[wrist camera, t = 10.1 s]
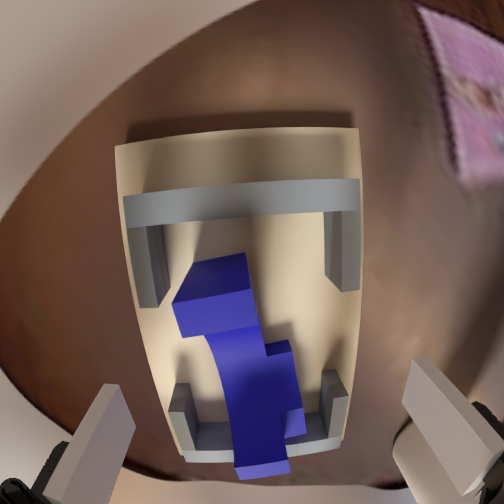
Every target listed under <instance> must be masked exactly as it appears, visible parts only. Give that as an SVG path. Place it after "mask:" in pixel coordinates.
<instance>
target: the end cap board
mask: <svg viewBox="0 0 504 504" xmlns="http://www.w3.org/2000/svg"><path fill="white" fill-rule="evenodd" d="M115 161H116V177H117V189H118V200H119V210H120V219H121V227H122V234H123V242H124V248H125V255H126V261H127V267H128V273H129V278H130V284H131V289H132V294H133V299H134V304H135V308H136V313H137V317H138V322H139V326H140V330H141V334H142V338H143V342H144V346H145V350H146V354H147V358H148V361H149V365H150V368H151V372H152V375H153V379H154V382H155V385H156V388H157V392H158V395H159V398H160V401H161V404H162V407H163V410H164V413H165V416H166V419H167V421H168V424H169V427H170V430H171V432H172V435H173V438H174V440H175V443H176V446H177V448H178V451H179V453H180V455H184V458H185V460H186V462H234V452H233V442H232V434H231V427H230V421H229V415H228V410H227V405H226V400H225V396H224V391H223V387H222V383H221V380H220V376H219V373H218V369H217V366H216V363H215V360H214V357H213V354H212V352H211V349H210V347H209V345H208V343H207V340H206V339H205V337H204V335H201V336H195V337H188V338H182V336H181V333H180V330H179V327H178V324H177V321H176V318H175V314H174V311H173V308H172V305H171V303H172V301H173V299H174V297H175V296H176V294H177V292H178V290H179V288H180V286H181V284H182V282H183V280H184V278H185V277H186V275H187V273H188V271H189V269H190V267H191V265H192V263H193V262H198V261H203V260H208V259H213V258H218V257H223V256H228V255H233V254H238V253H243V252H245V253H246V257H247V262H248V267H249V272H250V277H251V282H252V286H253V291H254V296H255V301H256V306H257V310H258V315H259V320H260V325H261V330H262V334H263V339H264V344H267V343H272V342H277V341H282V340H286V339H288V340H289V343H290V346H291V349H292V353H293V359H294V365H295V370H296V375H297V381H298V386H299V391H300V395H301V400H302V405H303V410H304V417H305V425H306V432H307V434H302V435H298V436H293V437H288V438H284V440H285V445H286V450H287V456H288V457H292V456H298V455H305V454H311V453H316V452H322V451H327V450H332V449H336V448H340V443H341V440H343V437H344V432H345V427H346V422H347V416H348V411H349V405H350V399H351V393H352V386H353V379H354V372H355V364H356V356H357V347H358V337H359V326H360V314H361V300H362V281H363V244H364V222H363V185H362V167H361V152H360V140H359V130H358V129H357V128H333V127H279V128H254V129H238V130H225V131H214V132H204V133H195V134H187V135H179V136H171V137H165V138H158V139H152V140H146V141H140V142H134V143H129V144H123V145H118V146H115Z"/></svg>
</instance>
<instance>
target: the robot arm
mask: <svg viewBox="0 0 504 504" xmlns="http://www.w3.org/2000/svg"><path fill="white" fill-rule="evenodd" d="M401 403H402V404H403V406H404V407H405V409H406V410H407V412H408V413H409V415H410V416H411V418H412V419H413V421H414V422H415V424H416V425H417V427H418V429H419V430H420V432H421V433H422V435H423V436H424V438H425V439H426V441H427V442H428V444H429V446H430V447H431V449H432V450H433V452H434V453H435V455H436V457H437V458H438V460H439V461H440V463H441V465H442V466H443V468H444V469H445V471H446V473H447V474H448V476H449V477H450V479H451V481H452V482H453V484H454V486H455V487H456V489H457V491H458V492H459V494H460V496H463V495H465V494H467V493H468V492H470V491H472V490H473V489H475V488H476V487H477V486H478V485H479V483H480V482H481V481H482V480H483V482H484V483H485V484H484V485H483V487H482V488H481V489H480V490H479V491H478V492H477V493H476V495H475V497H474V499H476V498H477V497H478V496H479V495H480V494H481V496H480V498H479V499H480V501H479V504H504V426H503V424H502V423H501V422H500V421H499V420H497V418H496V417H495V416H494V415H492V412H491V411H490V410H489V409H488V408H487V407H486V406H485V405H483V404H481V403H479V402H477V401H475V402H473V403H470V402H469V401H468V400H467V399H466V397H465V396H464V395H463V394H462V393H461V392H460V391H459V390H458V389H457V388H456V387H455V386H454V384H453V383H452V382H451V381H450V380H449V379H448V378H447V377H446V376H445V375H444V374H443V373H442V372H441V371H440V370H439V369H438V368H437V366H436V365H435V364H434V363H433V362H432V361H431V360H430V359H429V358H428V357H427V356H426V355H425V356H421V357H417V358H414V359H412V363H411V368H410V372H409V376H408V380H407V384H406V387H405V391H404V395H403V398H402V402H401ZM135 428H136V426H135V423H134V421H133V419H132V416H131V414H130V412H129V409H128V407H127V404H126V402H125V399H124V397H123V394H122V392H121V389H120V387H119V385H115V384H104V385H103V387H102V388H101V390H100V391H99V393H98V395H97V396H96V398H95V400H94V401H93V403H92V405H91V406H90V408H89V410H88V411H87V413H86V415H85V417H84V418H83V420H82V422H81V423H80V425H79V427H78V429H77V430H76V432H75V434H74V436H73V437H72V439H71V441H70V443H69V442H65V441H62V442H61V443H59V444H58V445H57V446H56V447H54V449H53V451H52V452H51V454H50V456H49V458H48V459H47V461H46V463H45V465H44V466H43V468H42V470H41V472H40V473H39V475H38V477H37V479H36V481H35V483H34V484H33V486H32V488H31V489H29V488H28V487H27V486H26V485H25V484H24V483H23V482H22V481H21V480H19V479H16V478H9V479H7V480H5V481H4V482H3V483H1V485H0V504H108V503H109V500H110V497H111V494H112V491H113V489H114V486H115V483H116V480H117V477H118V474H119V471H120V469H121V466H122V463H123V460H124V458H125V455H126V452H127V449H128V447H129V444H130V441H131V439H132V436H133V433H134V431H135Z"/></svg>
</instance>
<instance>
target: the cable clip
mask: <svg viewBox="0 0 504 504" xmlns="http://www.w3.org/2000/svg"><path fill="white" fill-rule="evenodd" d="M171 305H172V308H173V311H174V314H175V318H176V321H177V324H178V327H179V330H180V333H181V336H182V338H188V337H195V336H201V335H204V337H205V339H206V340H207V343H208V345H209V347H210V349H211V352H212V354H213V357H214V360H215V363H216V366H217V369H218V373H219V376H220V380H221V383H222V387H223V391H224V396H225V400H226V405H227V410H228V415H229V421H230V427H231V434H232V442H233V452H234V468H235V470H236V472H237V474H238V477H239V479H240V480H245V479H253V478H261V477H267V476H274V475H279V474H285V473H290V472H291V471H290V466H289V461H288V456H287V450H286V445H285V440H284V438H288V437H293V436H298V435H302V434H307V432H306V425H305V417H304V410H303V405H302V400H301V395H300V391H299V386H298V381H297V375H296V370H295V365H294V359H293V353H292V349H291V346H290V343H289V340H288V339H286V340H282V341H277V342H272V343H267V344H264V339H263V334H262V330H261V325H260V320H259V315H258V310H257V306H256V301H255V296H254V291H253V286H252V282H251V277H250V272H249V267H248V262H247V257H246V253H245V252H243V253H238V254H233V255H228V256H223V257H218V258H213V259H208V260H203V261H198V262H193V263H192V265H191V267H190V269H189V271H188V273H187V275H186V277H185V278H184V280H183V282H182V284H181V286H180V288H179V290H178V292H177V294H176V296H175V297H174V299H173V301H172V303H171Z"/></svg>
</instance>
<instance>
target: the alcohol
mask: <svg viewBox="0 0 504 504" xmlns="http://www.w3.org/2000/svg"><path fill="white" fill-rule="evenodd" d="M393 458H394V460H395V461H396V463H397V465H398V467H399V469H400V471H401V473H402V475H403V477H404V478H405V480H406V482H407V484H408V486H409V488H410V490H411V492H412V494H413V496H414V498H415V500H416V501H417V503H418V504H479V501H480V499H479V498H480V496H481V494H480V495H479V496H478V497H477V498H476V499H474V497H475V495H476V493H477V492H478V491H479V490H480V489H481V488H482V487H483V485H484V484H485V483H484V482H483V480H482V481H481V482H480V483H479V485H478V486H477V487H476V488H475V489H473V490H472V491H470V492H468V493H467V494H465V495H463V496H460V494H459V492H458V491H457V489H456V487H455V486H454V484H453V482H452V481H451V479H450V477H449V476H448V474H447V473H446V471H445V469H444V468H443V466H442V465H441V463H440V461H439V460H438V458H437V457H436V455H435V453H434V452H433V450H432V449H431V447H430V446H429V444H428V442H427V441H426V439H425V438H424V436H423V435H422V433H421V432H420V430H419V429H418V427H417V425H416V424H415V422H414V421H413V420H412V421H411V422H410V423H409V424H408V425H407V426H406V427H405V428H404V429H403V430H402V431H401V432H400V434H399V435H398V437H397V438H396V440H395V443H394V448H393Z"/></svg>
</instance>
